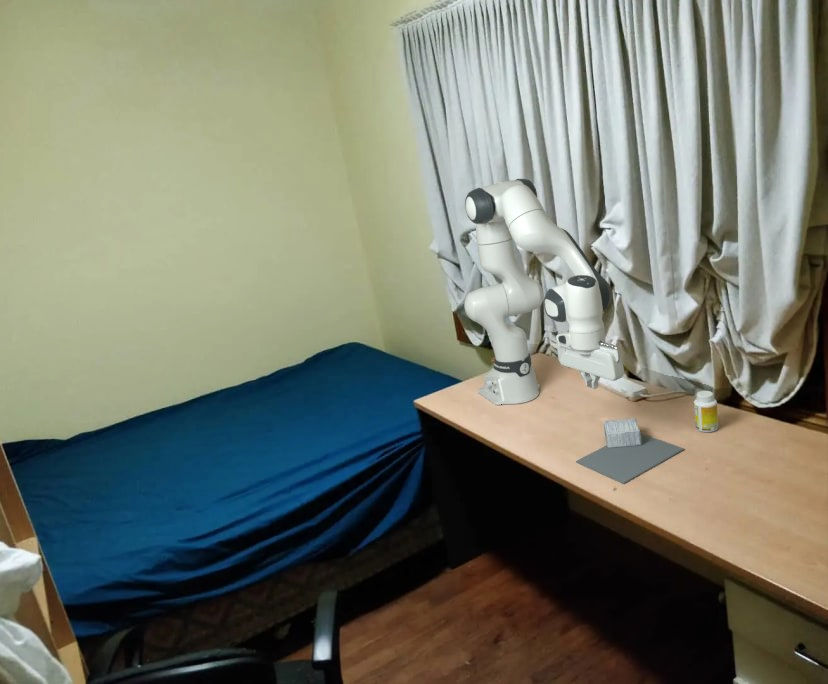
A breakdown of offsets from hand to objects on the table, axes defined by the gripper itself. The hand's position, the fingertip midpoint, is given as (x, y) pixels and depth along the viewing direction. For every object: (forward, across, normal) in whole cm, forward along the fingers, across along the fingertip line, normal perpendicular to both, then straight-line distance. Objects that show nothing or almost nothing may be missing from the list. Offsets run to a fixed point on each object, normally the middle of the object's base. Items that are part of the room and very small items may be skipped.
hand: (592, 387), depth 168 cm
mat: (+16, -11, 0) cm, 20 cm away
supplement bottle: (+17, -16, -24) cm, 33 cm away
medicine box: (+14, -2, -1) cm, 14 cm away
